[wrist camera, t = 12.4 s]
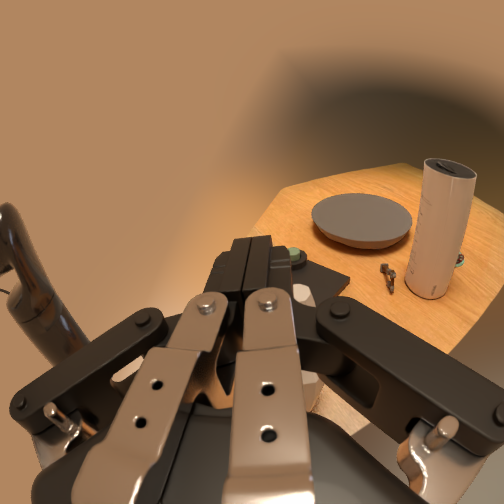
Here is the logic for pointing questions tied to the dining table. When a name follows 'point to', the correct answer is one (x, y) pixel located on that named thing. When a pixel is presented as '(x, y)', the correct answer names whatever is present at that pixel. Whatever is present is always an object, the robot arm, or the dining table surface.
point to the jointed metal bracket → (392, 275)
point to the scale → (318, 279)
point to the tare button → (294, 253)
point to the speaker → (439, 226)
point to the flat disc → (362, 220)
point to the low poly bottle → (310, 379)
